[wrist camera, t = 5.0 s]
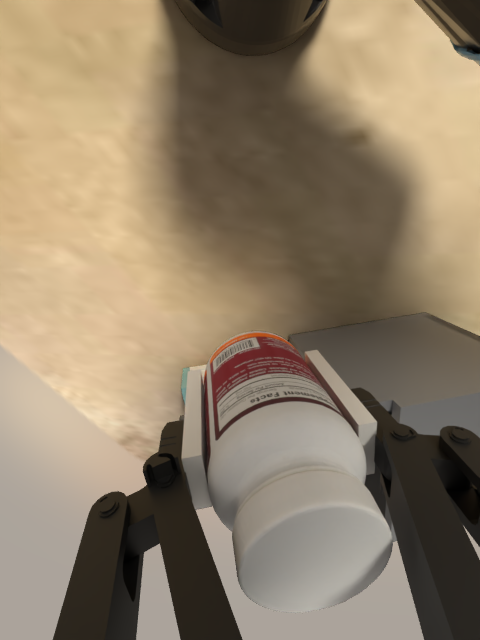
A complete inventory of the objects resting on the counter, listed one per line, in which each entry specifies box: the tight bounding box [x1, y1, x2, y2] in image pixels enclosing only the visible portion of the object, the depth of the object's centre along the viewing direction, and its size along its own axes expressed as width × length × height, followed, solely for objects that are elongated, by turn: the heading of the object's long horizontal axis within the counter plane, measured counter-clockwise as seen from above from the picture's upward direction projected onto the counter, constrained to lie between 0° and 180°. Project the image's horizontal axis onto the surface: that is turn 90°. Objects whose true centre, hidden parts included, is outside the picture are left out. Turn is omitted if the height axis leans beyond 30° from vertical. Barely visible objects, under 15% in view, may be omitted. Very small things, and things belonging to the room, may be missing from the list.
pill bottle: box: [204, 331, 393, 613], centre depth 14 cm, size 6×6×11 cm
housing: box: [289, 312, 480, 542], centre depth 33 cm, size 18×15×16 cm
